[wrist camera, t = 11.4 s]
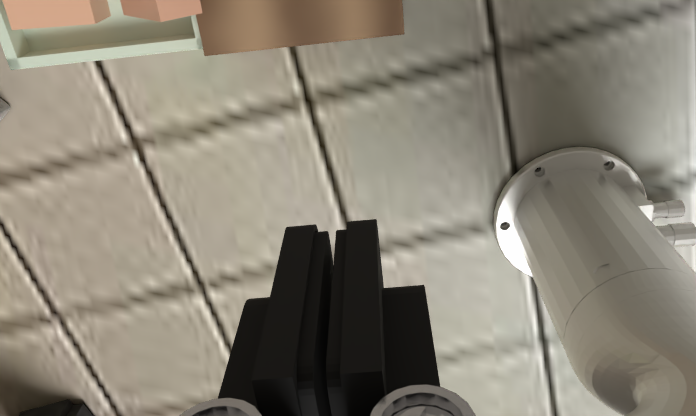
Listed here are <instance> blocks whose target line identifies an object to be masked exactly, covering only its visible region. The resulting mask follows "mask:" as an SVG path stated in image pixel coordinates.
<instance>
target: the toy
mask: <svg viewBox="0 0 696 416" xmlns="http://www.w3.org/2000/svg"><path fill="white" fill-rule="evenodd" d="M19 416H93V415H92V414H91V413H90V411H89V410H88V409H87V408H86V406H85V405H84V404H79V405H73V404H72V403H71V401H70V400H65V401H61V402H58V403H54V404H50V405H46V406H43V407H39V408H35V409H31V410H28V411H24V412H21V413H20V414H19Z"/></svg>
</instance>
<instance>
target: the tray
mask: <svg viewBox="0 0 696 416" xmlns="http://www.w3.org/2000/svg"><path fill="white" fill-rule="evenodd" d="M107 1H108V5H109V9H110V13H111V16H110V17H108V18H106V19H104V20H102V21H100V22H98V23H96V24H89V25H75V26H61V27H47V28H33V29H19V30H12V29H11V26H10V23H9V20H8V16H7V13H6V10H5V7H4V4H3V1H2V0H0V43H1V45H2V48H3V51H4V53H5V56H6V59H7V61H8V64H9V67H10V69H11V70H15V69H24V68H33V67H42V66H51V65H60V64H70V63H79V62H88V61H97V60H106V59H115V58H124V57H133V56H142V55H151V54H160V53H169V52H179V51H188V50H197V49H203V46H202V41H201V37H200V32H199V28H198V23H197V18H196V15H191V16H187V17H182V18H178V19H173V20H168V21H164V22H158V21H153V20H147V19H142V18H137V17H131V16H126V15H124V14H123V10H122V6H121V2H120V0H107Z"/></svg>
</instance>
